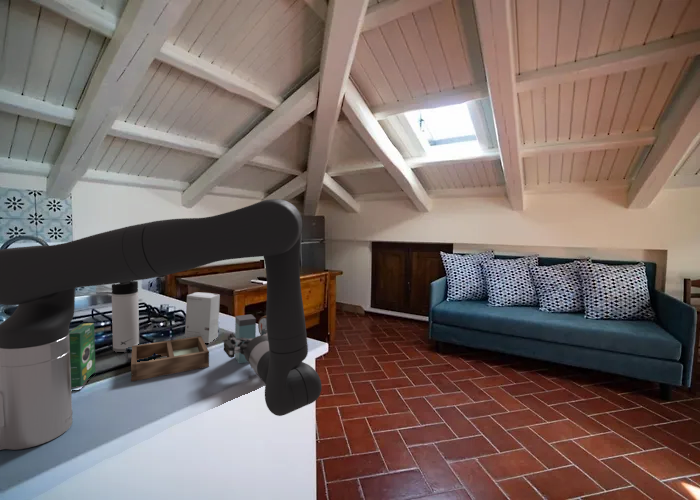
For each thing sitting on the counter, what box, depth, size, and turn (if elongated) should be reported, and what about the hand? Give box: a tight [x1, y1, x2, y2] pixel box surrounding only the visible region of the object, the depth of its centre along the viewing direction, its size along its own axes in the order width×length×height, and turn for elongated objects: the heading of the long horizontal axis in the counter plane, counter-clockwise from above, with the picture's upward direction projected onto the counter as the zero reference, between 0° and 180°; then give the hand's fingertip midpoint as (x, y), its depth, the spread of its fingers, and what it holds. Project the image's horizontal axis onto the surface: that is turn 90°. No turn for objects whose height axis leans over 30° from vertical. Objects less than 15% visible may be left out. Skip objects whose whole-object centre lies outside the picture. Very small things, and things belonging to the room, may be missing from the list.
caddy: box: [130, 336, 210, 382], centre depth 86 cm, size 17×13×4 cm
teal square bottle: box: [234, 314, 257, 364], centre depth 91 cm, size 4×4×12 cm
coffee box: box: [69, 322, 96, 387], centre depth 74 cm, size 8×3×13 cm, turn 19°
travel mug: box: [111, 280, 140, 353], centre depth 93 cm, size 6×7×20 cm
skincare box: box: [184, 291, 221, 344], centre depth 103 cm, size 8×6×15 cm
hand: (247, 334), depth 89 cm, fingers open, 8 cm apart
